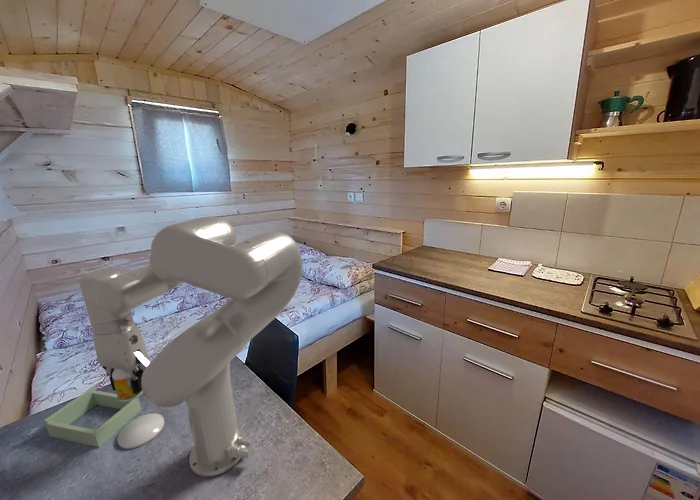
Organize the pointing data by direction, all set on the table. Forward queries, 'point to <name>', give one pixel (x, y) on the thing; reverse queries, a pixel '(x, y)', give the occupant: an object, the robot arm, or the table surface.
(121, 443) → the saucer
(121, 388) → the supplement bottle
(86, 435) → the frame
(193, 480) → the table surface
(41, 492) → the table surface
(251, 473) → the table surface
